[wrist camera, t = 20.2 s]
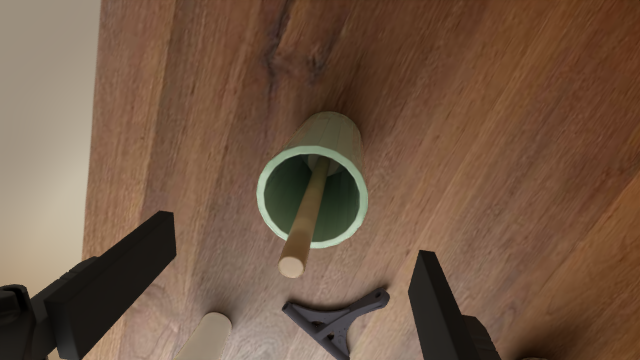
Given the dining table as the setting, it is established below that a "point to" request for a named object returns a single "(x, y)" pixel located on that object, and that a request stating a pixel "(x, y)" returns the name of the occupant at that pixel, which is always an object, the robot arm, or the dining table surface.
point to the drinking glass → (207, 339)
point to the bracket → (335, 321)
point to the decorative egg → (534, 359)
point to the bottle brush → (306, 217)
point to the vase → (294, 175)
